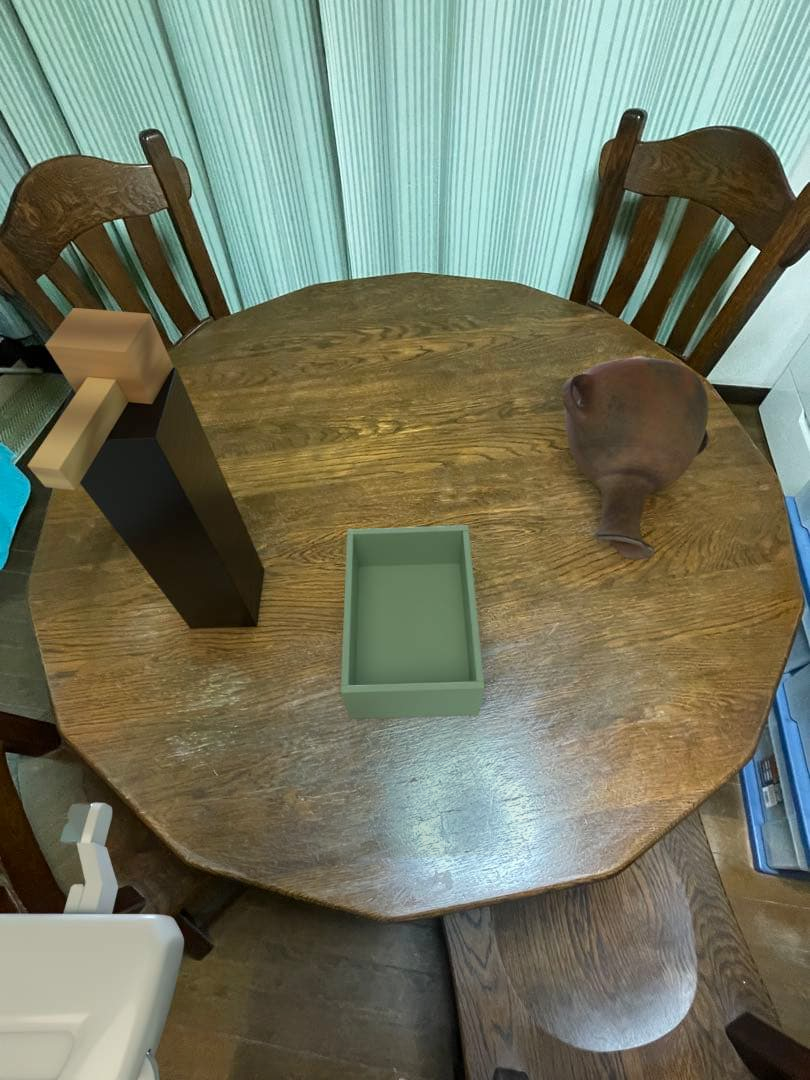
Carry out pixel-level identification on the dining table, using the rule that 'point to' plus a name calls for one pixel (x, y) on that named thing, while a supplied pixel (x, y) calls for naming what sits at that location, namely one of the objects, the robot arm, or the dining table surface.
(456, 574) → the tray
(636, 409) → the jug
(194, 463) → the stand
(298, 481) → the dining table surface
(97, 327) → the mallet
